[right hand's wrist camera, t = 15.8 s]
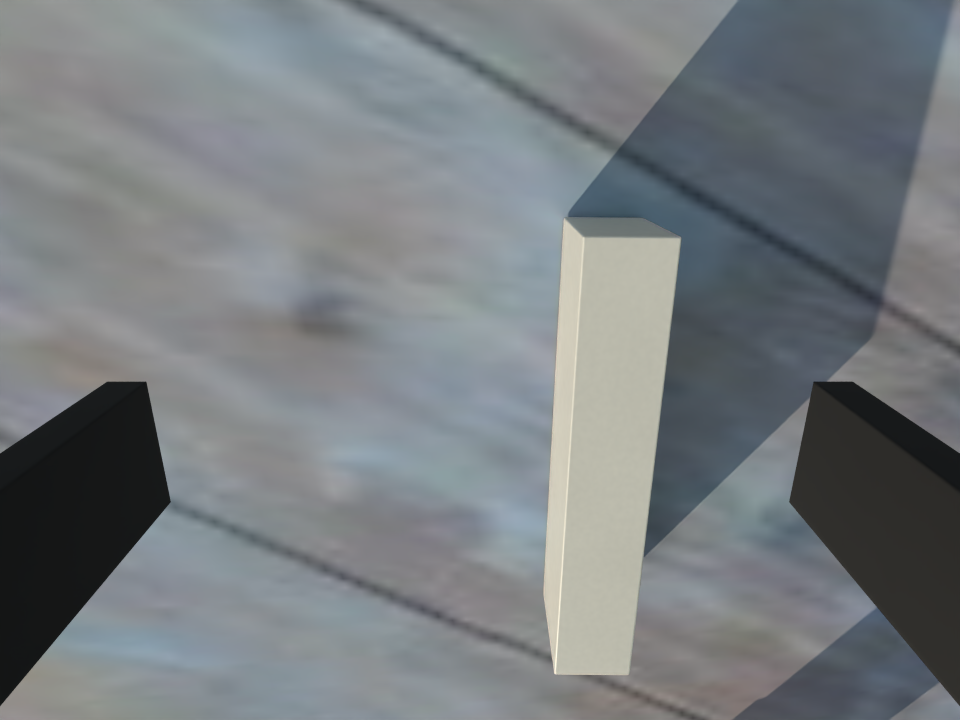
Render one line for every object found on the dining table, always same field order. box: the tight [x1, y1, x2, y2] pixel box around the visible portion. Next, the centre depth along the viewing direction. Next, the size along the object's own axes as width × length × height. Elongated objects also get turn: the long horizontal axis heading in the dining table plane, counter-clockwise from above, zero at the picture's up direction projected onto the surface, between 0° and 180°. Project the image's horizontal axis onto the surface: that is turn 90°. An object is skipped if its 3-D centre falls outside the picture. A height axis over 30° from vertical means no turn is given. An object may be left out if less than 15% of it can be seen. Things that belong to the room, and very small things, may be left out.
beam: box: [544, 217, 682, 675], centre depth 36 cm, size 26×4×7 cm, turn 179°
